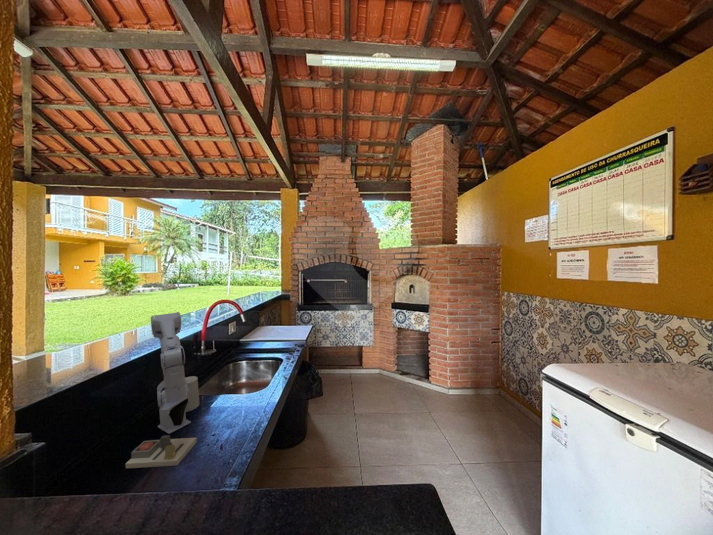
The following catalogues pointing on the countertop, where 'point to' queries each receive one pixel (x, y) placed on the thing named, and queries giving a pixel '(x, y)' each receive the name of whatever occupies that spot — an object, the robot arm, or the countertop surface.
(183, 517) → the countertop surface
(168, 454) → the yellow slider knob
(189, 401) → the cup
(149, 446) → the red button
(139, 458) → the panel
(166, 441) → the grey slider knob
